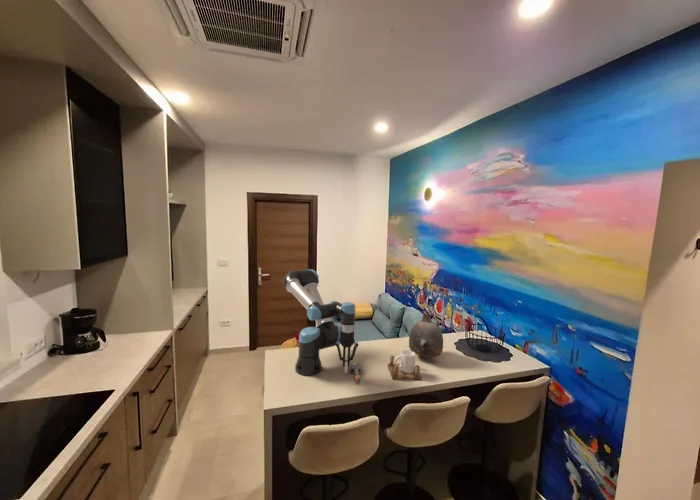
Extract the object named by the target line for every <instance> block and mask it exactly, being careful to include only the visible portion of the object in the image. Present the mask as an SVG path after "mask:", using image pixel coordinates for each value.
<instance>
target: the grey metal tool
mask: <svg viewBox="0 0 700 500" xmlns="http://www.w3.org/2000/svg"><path fill="white" fill-rule="evenodd" d="M349 369H350V370H351V371H354V372H355V374H354V382H355V383H360V381H361V375H360V374H359V373H358V371H360V370H362V365H361V363H359V362H352V363H350V366H349Z"/></svg>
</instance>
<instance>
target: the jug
mask: <svg viewBox="0 0 700 500" xmlns="http://www.w3.org/2000/svg"><path fill="white" fill-rule="evenodd" d="M408 347H409V351H413V352H414V353H415V355H418V356H421V357H423V358H437V357H439V356H440V355H441V354H442V353H443V349H444V337H443V332H442V330H441V328H440V322H437V323H436V322H434V321H432V316H431V314H429V313H426V311H423V314H422V319H421V320H419V321H418V322H416V323H414V325H413V326H412V328H411V330H410V333H409V338H408Z"/></svg>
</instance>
